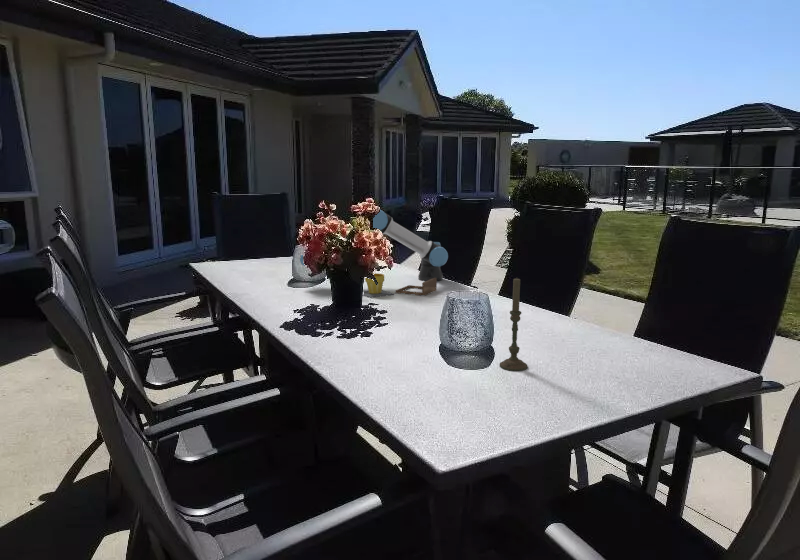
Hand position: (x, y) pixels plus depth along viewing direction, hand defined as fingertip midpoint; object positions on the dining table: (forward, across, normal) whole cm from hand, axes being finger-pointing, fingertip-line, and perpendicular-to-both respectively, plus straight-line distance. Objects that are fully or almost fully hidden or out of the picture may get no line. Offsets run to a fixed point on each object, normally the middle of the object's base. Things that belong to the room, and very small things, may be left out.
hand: (358, 262), depth 301 cm
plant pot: (+10, 0, -16) cm, 19 cm away
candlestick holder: (+108, +83, -18) cm, 138 cm away
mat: (+10, 0, -17) cm, 19 cm away
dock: (+27, -16, -17) cm, 36 cm away
